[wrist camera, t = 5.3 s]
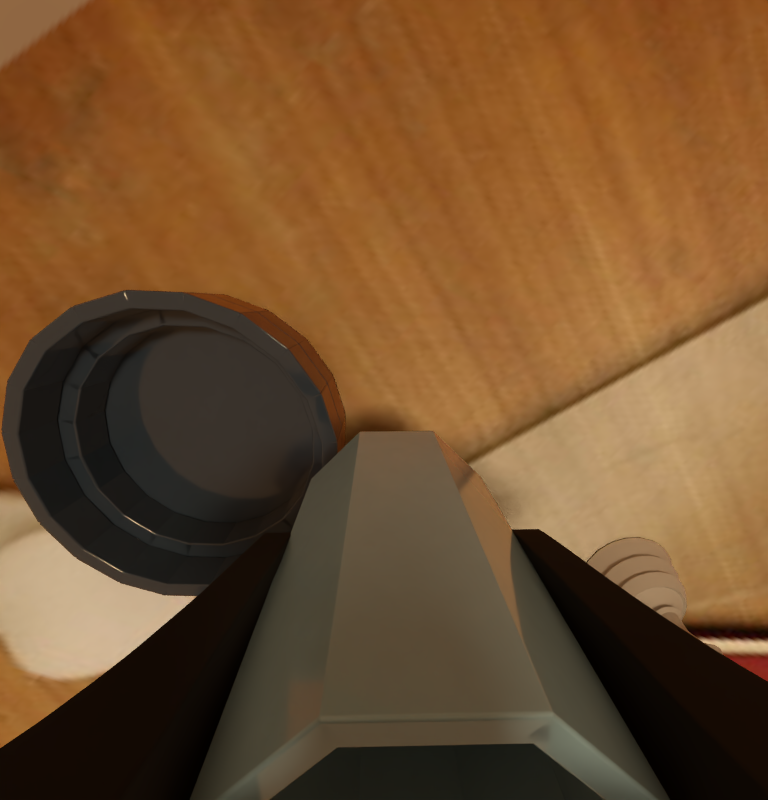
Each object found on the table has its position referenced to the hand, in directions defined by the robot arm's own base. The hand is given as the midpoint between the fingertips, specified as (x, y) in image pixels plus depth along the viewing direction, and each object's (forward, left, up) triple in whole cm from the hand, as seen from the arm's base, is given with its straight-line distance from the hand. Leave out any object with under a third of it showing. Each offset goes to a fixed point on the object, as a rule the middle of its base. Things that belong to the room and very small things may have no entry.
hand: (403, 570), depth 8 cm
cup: (0, 0, -2) cm, 2 cm away
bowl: (+8, +3, -10) cm, 13 cm away
